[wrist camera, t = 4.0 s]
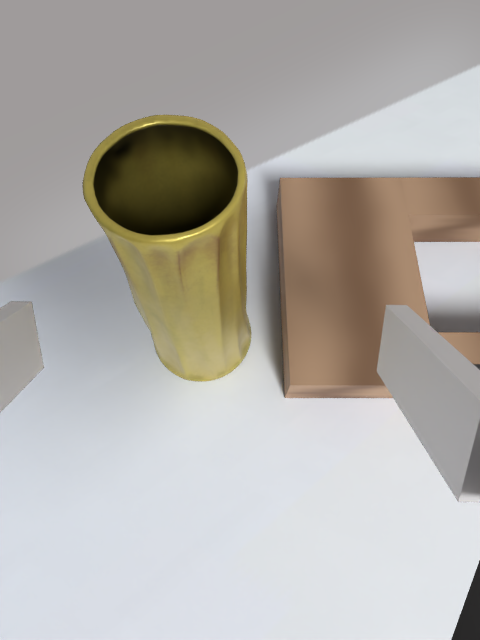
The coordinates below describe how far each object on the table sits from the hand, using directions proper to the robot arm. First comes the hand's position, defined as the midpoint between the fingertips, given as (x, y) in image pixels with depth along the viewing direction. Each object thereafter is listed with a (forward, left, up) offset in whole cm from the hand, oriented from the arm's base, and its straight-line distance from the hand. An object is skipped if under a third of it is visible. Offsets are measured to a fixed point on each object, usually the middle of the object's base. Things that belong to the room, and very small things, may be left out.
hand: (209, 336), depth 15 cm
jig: (+13, +7, -10) cm, 18 cm away
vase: (-1, +4, -10) cm, 11 cm away
